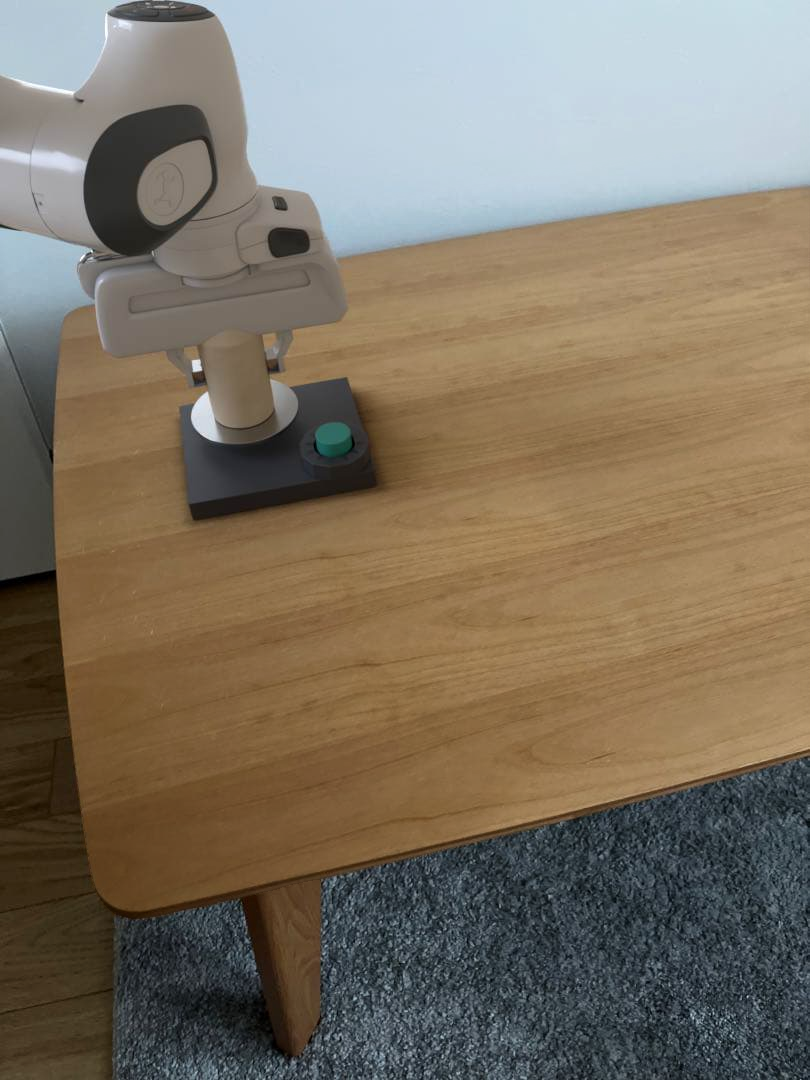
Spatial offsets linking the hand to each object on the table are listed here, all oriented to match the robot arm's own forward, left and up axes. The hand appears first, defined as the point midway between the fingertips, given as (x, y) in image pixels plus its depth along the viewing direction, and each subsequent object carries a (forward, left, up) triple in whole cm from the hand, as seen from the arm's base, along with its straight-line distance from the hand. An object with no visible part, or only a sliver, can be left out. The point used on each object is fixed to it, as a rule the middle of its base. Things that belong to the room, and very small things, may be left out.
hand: (237, 376), depth 87 cm
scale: (+2, -2, -8) cm, 8 cm away
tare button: (+7, -6, -4) cm, 10 cm away
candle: (0, 0, -4) cm, 4 cm away
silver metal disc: (0, 0, -4) cm, 4 cm away
